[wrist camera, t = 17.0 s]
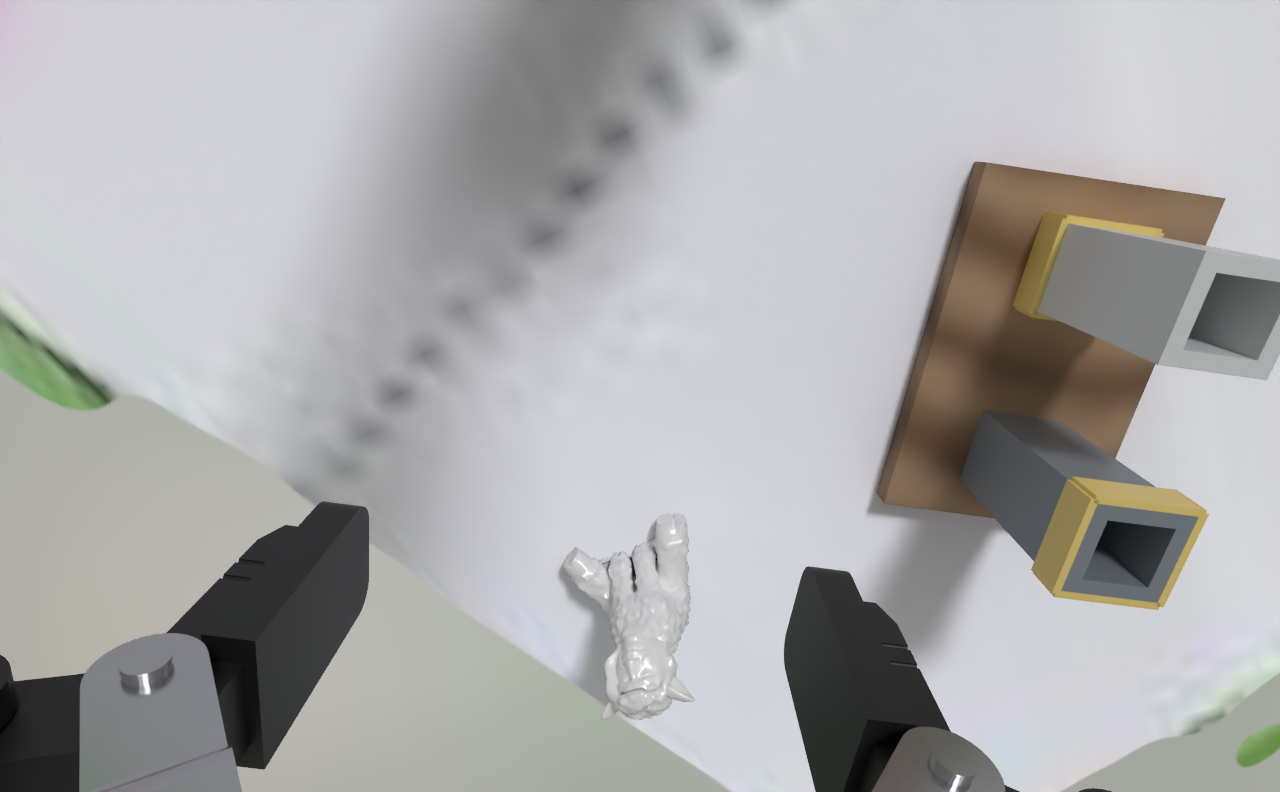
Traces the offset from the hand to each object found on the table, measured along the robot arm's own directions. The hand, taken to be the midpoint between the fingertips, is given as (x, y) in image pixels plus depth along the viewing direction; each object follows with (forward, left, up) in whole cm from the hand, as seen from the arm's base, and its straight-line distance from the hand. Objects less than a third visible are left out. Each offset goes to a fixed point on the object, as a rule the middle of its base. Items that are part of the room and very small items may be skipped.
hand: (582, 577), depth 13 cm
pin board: (+2, +26, -32) cm, 41 cm away
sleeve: (+8, +26, -30) cm, 41 cm away
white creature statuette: (+22, +4, -32) cm, 39 cm away
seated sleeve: (-4, +26, -30) cm, 40 cm away
